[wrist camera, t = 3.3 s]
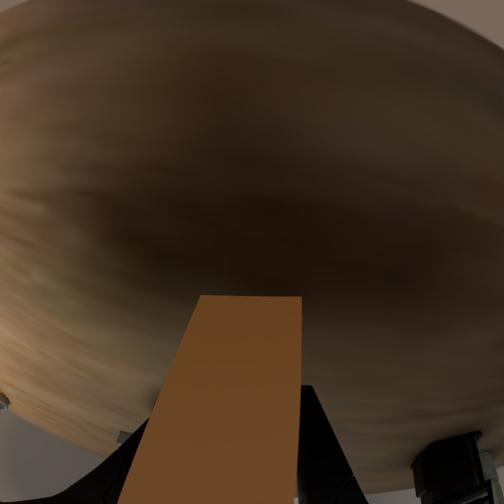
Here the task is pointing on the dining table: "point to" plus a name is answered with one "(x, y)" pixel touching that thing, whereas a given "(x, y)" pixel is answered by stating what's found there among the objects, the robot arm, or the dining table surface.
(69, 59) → the dining table surface
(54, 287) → the dining table surface
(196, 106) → the dining table surface
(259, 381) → the orange tab
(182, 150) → the dining table surface
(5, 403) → the ceramic mug
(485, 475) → the grey green pot
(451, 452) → the robot arm
